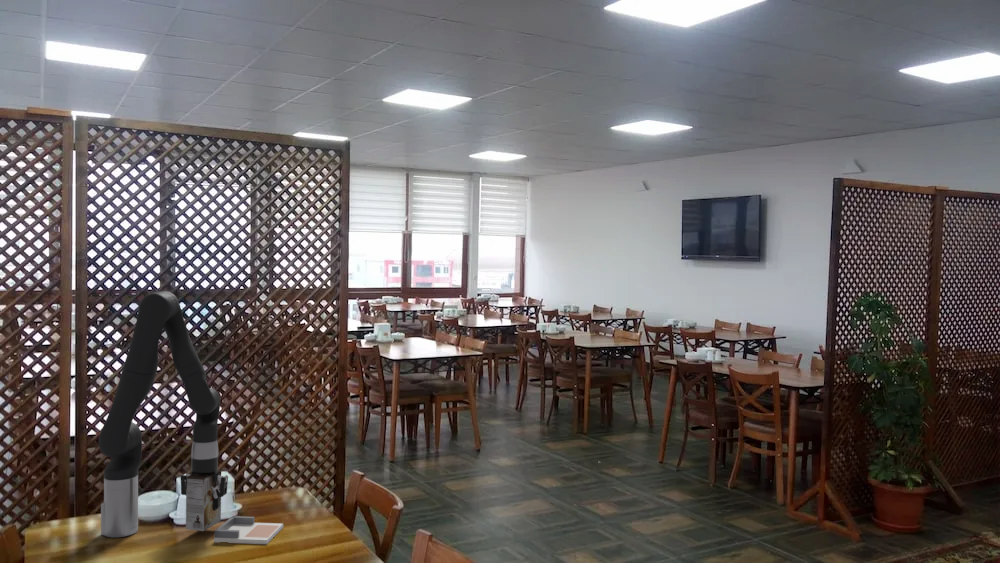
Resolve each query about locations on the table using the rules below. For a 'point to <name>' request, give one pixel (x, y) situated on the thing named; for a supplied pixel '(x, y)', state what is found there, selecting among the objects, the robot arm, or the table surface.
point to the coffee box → (201, 502)
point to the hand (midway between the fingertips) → (203, 509)
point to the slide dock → (246, 531)
